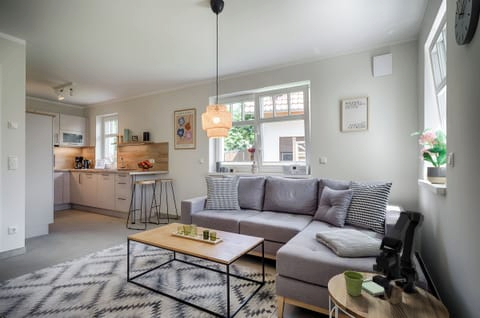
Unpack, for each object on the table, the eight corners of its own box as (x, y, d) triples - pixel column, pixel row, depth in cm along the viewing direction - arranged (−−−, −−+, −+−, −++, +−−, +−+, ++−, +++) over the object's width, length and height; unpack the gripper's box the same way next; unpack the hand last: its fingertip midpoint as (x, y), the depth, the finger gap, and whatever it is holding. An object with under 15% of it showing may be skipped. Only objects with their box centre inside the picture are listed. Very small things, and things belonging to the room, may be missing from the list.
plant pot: (367, 299, 112) (367, 280, 112) (345, 297, 114) (345, 278, 114) (361, 289, 121) (361, 271, 121) (341, 287, 123) (341, 270, 123)
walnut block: (392, 296, 115) (392, 283, 115) (402, 302, 110) (402, 288, 110) (384, 298, 114) (384, 285, 114) (393, 304, 109) (393, 290, 109)
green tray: (373, 280, 130) (373, 278, 130) (393, 292, 118) (393, 289, 118) (354, 284, 126) (354, 281, 126) (373, 296, 115) (373, 293, 115)
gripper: (392, 254, 122) (393, 285, 122) (362, 258, 117) (363, 291, 117) (414, 263, 112) (414, 297, 112) (382, 268, 106) (382, 304, 106)
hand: (393, 297), depth 112 cm, fingers closed on walnut block, 5 cm apart
